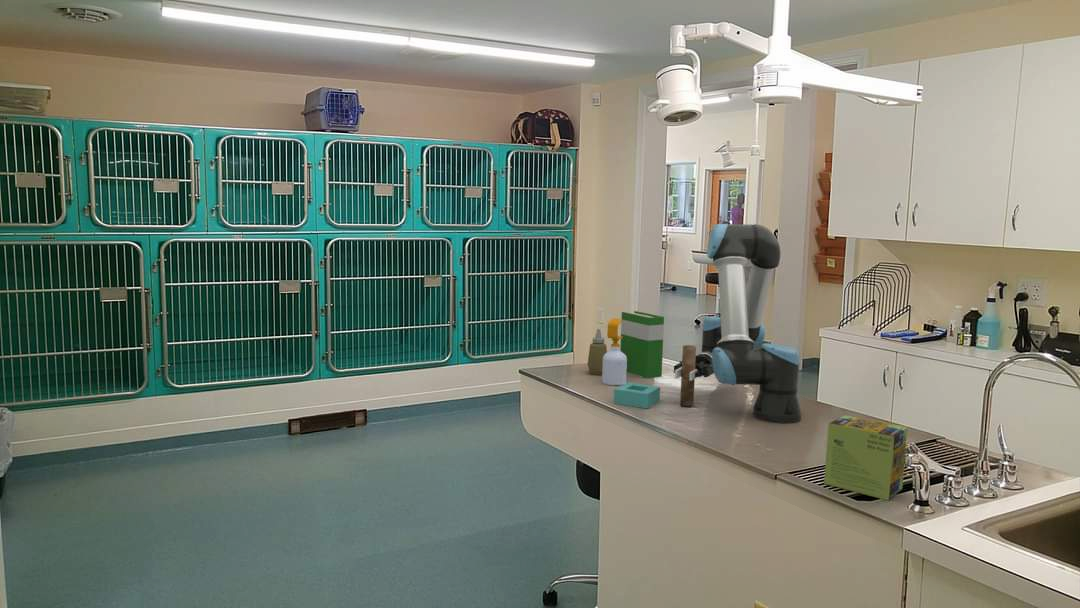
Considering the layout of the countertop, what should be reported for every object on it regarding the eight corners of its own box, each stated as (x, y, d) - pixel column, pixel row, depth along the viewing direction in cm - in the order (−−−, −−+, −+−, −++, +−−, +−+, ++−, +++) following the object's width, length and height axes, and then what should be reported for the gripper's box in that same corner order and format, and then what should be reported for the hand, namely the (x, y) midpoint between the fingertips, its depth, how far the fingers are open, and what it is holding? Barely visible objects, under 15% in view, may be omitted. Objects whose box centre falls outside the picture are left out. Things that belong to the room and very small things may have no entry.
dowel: (695, 404, 253) (697, 346, 250) (691, 407, 249) (693, 348, 246) (682, 402, 255) (685, 344, 252) (678, 405, 251) (681, 346, 249)
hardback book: (619, 369, 307) (621, 312, 304) (633, 368, 311) (636, 311, 308) (646, 378, 292) (649, 318, 289) (661, 376, 296) (664, 316, 292)
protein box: (889, 501, 172) (895, 436, 170) (823, 484, 182) (827, 422, 180) (903, 489, 180) (908, 426, 178) (838, 473, 190) (843, 414, 188)
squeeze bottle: (607, 372, 302) (609, 328, 300) (607, 376, 294) (608, 331, 292) (587, 371, 303) (588, 327, 300) (586, 375, 295) (588, 330, 292)
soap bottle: (629, 382, 284) (632, 318, 281) (619, 387, 277) (621, 321, 274) (609, 379, 289) (611, 316, 286) (597, 383, 282) (599, 319, 278)
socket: (659, 401, 258) (660, 386, 257) (647, 408, 247) (647, 394, 247) (627, 396, 263) (627, 382, 263) (613, 403, 253) (614, 389, 252)
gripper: (727, 377, 262) (708, 390, 242) (679, 371, 271) (657, 383, 250) (728, 356, 262) (709, 367, 241) (680, 350, 270) (658, 361, 250)
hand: (683, 375), depth 246 cm, fingers closed on dowel, 4 cm apart
